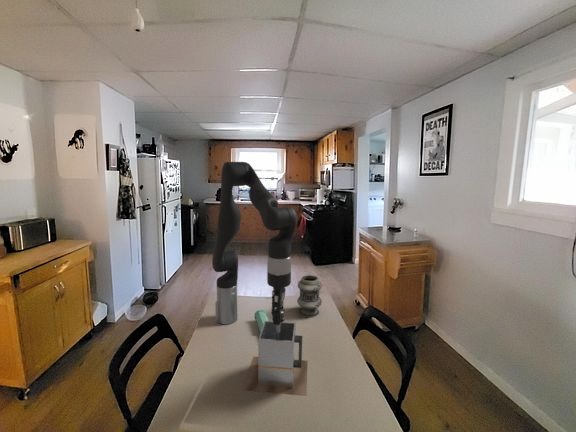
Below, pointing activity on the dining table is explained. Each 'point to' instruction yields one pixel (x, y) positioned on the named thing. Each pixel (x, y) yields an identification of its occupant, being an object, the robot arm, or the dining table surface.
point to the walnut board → (297, 389)
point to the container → (260, 318)
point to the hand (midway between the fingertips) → (278, 317)
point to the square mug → (278, 355)
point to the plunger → (280, 322)
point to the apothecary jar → (309, 295)
